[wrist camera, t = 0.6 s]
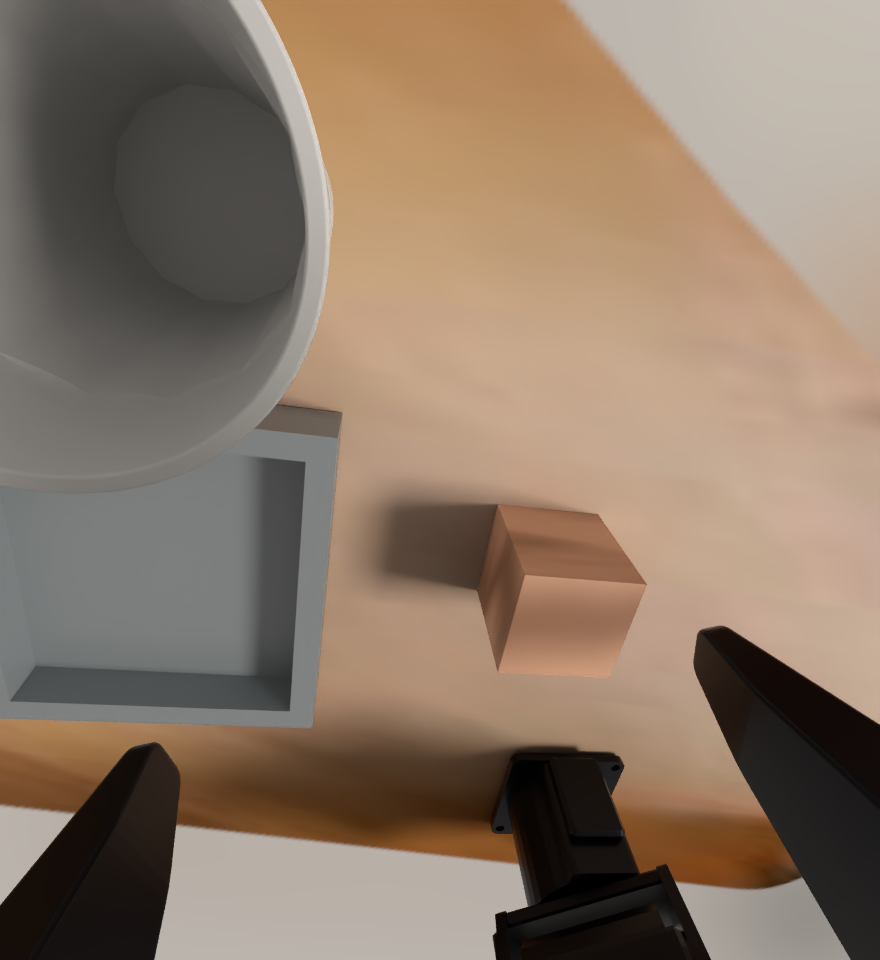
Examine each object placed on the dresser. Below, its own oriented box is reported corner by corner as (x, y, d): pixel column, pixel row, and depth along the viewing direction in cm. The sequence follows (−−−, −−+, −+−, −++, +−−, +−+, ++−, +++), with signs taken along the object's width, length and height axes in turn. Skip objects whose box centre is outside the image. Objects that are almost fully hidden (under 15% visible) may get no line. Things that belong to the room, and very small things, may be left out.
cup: (170, 358, 19) (-87, 552, 9) (38, 89, 16) (-685, -144, 5) (390, 295, 19) (403, 415, 8) (307, 7, 15) (146, -420, 5)
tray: (317, 684, 27) (311, 728, 25) (22, 671, 25) (-14, 717, 23) (342, 412, 21) (337, 438, 19) (-46, 366, 19) (-103, 388, 17)
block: (570, 596, 26) (609, 678, 22) (477, 589, 25) (497, 672, 21) (597, 513, 24) (646, 584, 20) (497, 503, 23) (525, 575, 19)
